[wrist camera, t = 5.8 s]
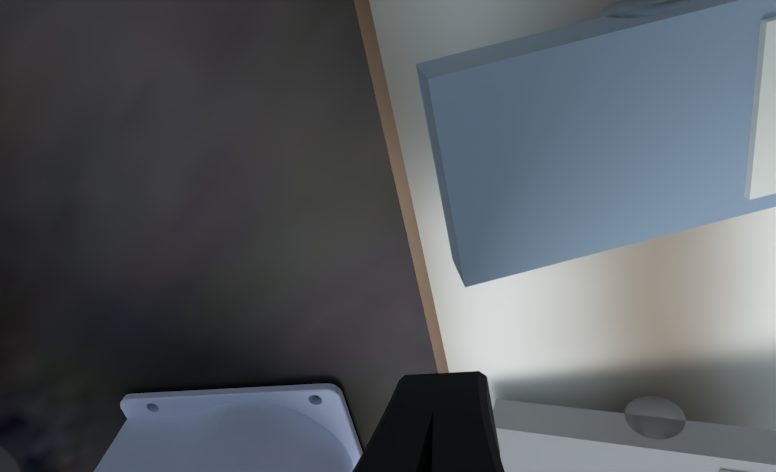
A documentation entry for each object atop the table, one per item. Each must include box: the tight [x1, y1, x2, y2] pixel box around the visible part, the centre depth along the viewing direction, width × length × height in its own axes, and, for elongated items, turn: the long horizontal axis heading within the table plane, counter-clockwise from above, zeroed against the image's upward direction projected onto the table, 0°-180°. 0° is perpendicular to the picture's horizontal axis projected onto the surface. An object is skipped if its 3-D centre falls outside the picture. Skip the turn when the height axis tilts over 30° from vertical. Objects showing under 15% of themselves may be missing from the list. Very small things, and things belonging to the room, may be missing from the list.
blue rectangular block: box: [416, 0, 776, 287], centre depth 11 cm, size 8×4×2 cm, turn 102°
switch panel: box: [354, 0, 776, 430], centre depth 16 cm, size 16×24×4 cm, turn 12°
